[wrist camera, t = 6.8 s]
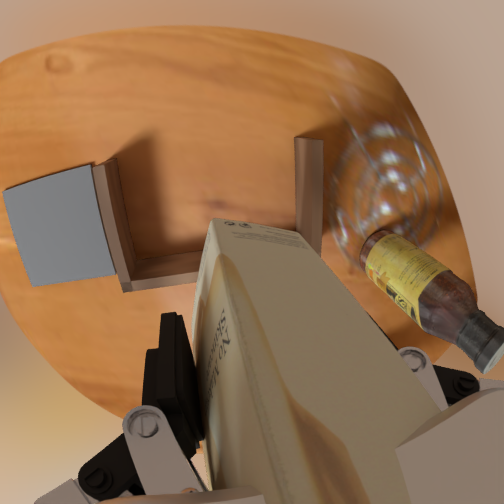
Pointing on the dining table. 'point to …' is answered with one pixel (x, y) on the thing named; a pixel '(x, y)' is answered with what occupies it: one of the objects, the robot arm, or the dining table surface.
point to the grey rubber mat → (60, 228)
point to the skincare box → (296, 376)
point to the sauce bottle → (432, 297)
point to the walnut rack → (188, 264)
